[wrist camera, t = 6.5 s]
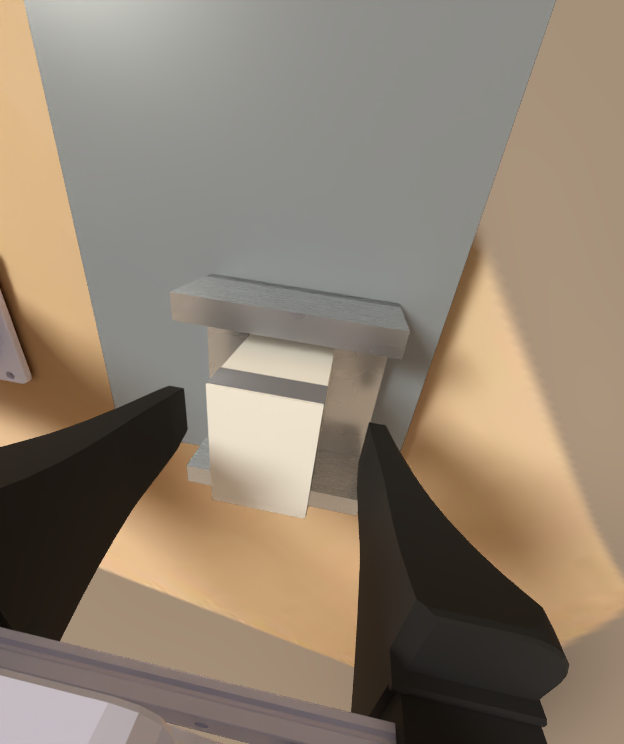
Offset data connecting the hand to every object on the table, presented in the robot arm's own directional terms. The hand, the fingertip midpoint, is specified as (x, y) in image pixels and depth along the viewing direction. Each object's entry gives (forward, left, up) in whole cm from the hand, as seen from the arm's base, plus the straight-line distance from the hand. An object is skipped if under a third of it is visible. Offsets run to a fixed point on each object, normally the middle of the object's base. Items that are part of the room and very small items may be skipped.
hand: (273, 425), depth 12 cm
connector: (0, 0, -3) cm, 3 cm away
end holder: (0, 0, -4) cm, 4 cm away
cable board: (-2, +5, -5) cm, 7 cm away
